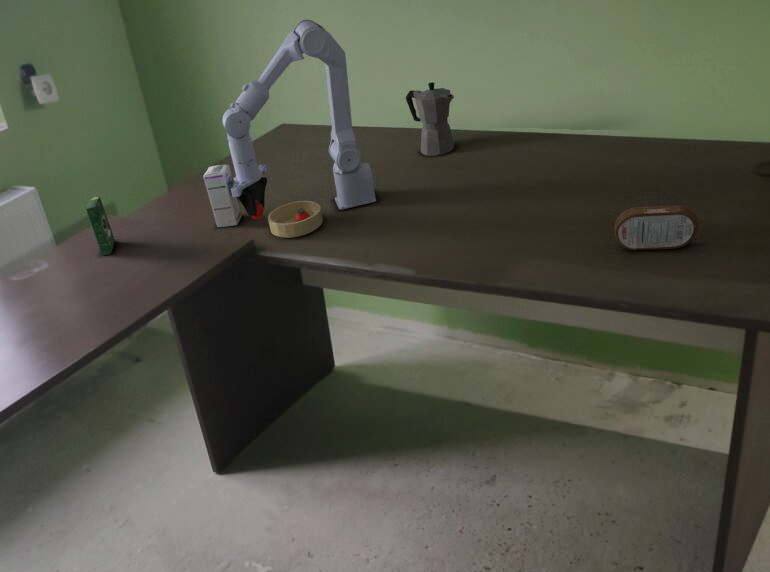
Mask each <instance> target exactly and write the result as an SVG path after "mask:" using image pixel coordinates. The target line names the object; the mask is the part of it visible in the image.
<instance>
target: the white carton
mask: <svg viewBox="0 0 770 572" xmlns="http://www.w3.org/2000/svg"><path fill="white" fill-rule="evenodd" d="M202 177H203V181H204V185H205V189H206V192H207V195H208V199H209V202H210V206H211V209H212V213H213V217H214V220H215V224H216V227H217V228H224V227H225V228H226V227H227V228H228V227H233V226H238V224H239V223H240V220H241V219H242V217H243V214H242V210H241V205H240V201H239V199H238V198H237V197H233V196H232V192H231V189H232V188H233V186H234V184H235V181H234V178H233V175H232V171H231V168H230V164H228V163H226V164H225V163H223V164H216V165H211V166H209V167H207V170H206V171H205V173H204V174H203V176H202Z"/></svg>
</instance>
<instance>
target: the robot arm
mask: <svg viewBox="0 0 770 572" xmlns="http://www.w3.org/2000/svg"><path fill="white" fill-rule="evenodd" d="M303 54H305V56H308V57H310V58H314V59H319V61H321V62H322V63H324V67H325V76H326V87H327V95H328V104H329V114H330V123H331V131H330V143H329V146H328V154H329V156H330V158H331V159H332V160H333V166H332V174H333V180H334V185H335V191H336V196H335V197H334V201H335V203H336V205H337V208H338V210H339V211H343V210H348V209H350V208H351V209H352V208H356V207H360V206H364V205H367V204H372V203H375V202H377V199H376V193H375V186H374V179H373V178H374V177H373V172H372V169H371V165H370V163H369V162H365V163H362V154H361V151H360V150H359V149H358V146H357V139H356V136H355V133H354V130H353V122H352V109H351V99H350V90H349V89H350V88H349V78H348V77H349V76H348V68H347V67H348V65H347V57H346V52H345V50H344V49H343V48H342V46H341V45H340V44H339V42H337V40H336V39H335V38H334V37H333V36H332V34H331V33H330V32H329V31H327V29H325V27H323V26H322V25H321V24H319V23H318V22H316V21H314V20H312V19H309V18H308V19H307V18H306V19H302V20H300V21H299V22H298V23H296V25H295V27H294V29H293V30H291V31H290V32H289V33H288V34H287V35H286V37H285V39H284V41H283V42H282V44H281V45H280V46H279V47H278V49H277V51H276V53H275V54H274V55H273V56H272V58H271V59H270V61H269V63H268V64H267V65H266V67H265V69H264V70H263V72H262V73H261V75H260V76H259V78H258V79H256V80H250V81H249V83H248V84H247V83H245V84H244V85H243V86H242V88H241V90H242V92H241V93H240V94H239V96H238V98H236V100H235V101H234V102H231V103H230V105H229V107H230V108H227V110H225V112H224V113H223V115H222V122H221V124H222V126H223V128H224V130H225V131H226V135H227V136H226V139H227V141H228V147H229V153H230V156H231V161H232V164H233V168H234V172H235V176H234V177H233V182H234V186H233V188H232V189H231V192H232V196H233V197H237V198H238V201H239V203H241V205H242V206H243V209H244V210H245V211H246V214H247V215H248V217H249V216H250V217H252V216H256V215H257V209H256V202H255V200H258V202H259V203H261V204H262V205H263V208H265V203H266V202H265V195H266V188H267V184H268V178H267V177H265V176H264V177H262V176H263V174H267V173H268V169H267V165H266V164H258V160H257V155H256V152H255V148H254V144H253V139H252V137H251V134H250V129H251V122H252V121H253V120H254V119H255V118H256V116H257V115H258V114H259V112H260V111H261V110H262V108H263V107H264V106H265V104H266V103H267V102H268V100H269V99H270V89H271V88H272V87H273V85H274V84H275V83H276V81H278V79H279V78H280V77H281V75H282V74H283V73H284V72H285V71H286V70H287V68H288V67H289V66H290V65H291V63H294V62H298V61H302V60H305V57H304V55H303Z"/></svg>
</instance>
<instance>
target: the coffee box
mask: <svg viewBox="0 0 770 572" xmlns="http://www.w3.org/2000/svg"><path fill="white" fill-rule="evenodd" d="M85 212H86V214H87V217H88V220H89V222H90V225H91V229H92V232H93V235H94V238H95V239H96V242H97V246H98V249H99V252H100V254H101V256H106V255H110V254H112V251H113V248H114V245H115V243H116V240H115V235H114V233H113V231H112V228H111V225H110V221H109V220H108V216H107V213H106V211H105V206H104V205H103V202H102V199H101V196H100V195H98V196H94V197H90V199H89V201H88V203H87V205H86V207H85Z"/></svg>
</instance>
